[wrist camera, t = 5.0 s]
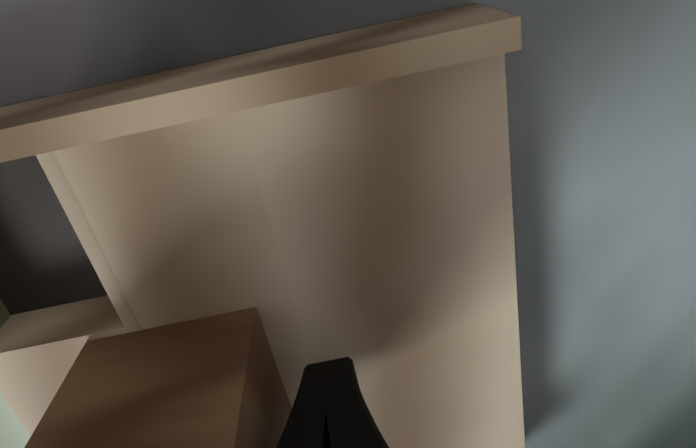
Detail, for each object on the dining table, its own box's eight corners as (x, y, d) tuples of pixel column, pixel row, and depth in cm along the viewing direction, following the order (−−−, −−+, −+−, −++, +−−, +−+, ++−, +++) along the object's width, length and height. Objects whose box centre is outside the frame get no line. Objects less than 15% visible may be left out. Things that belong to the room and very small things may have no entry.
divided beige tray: (473, 3, 12) (531, 18, 9) (508, 456, 19) (545, 550, 16) (-310, 175, 13) (-512, 246, 9) (16, 550, 20) (-37, 658, 17)
